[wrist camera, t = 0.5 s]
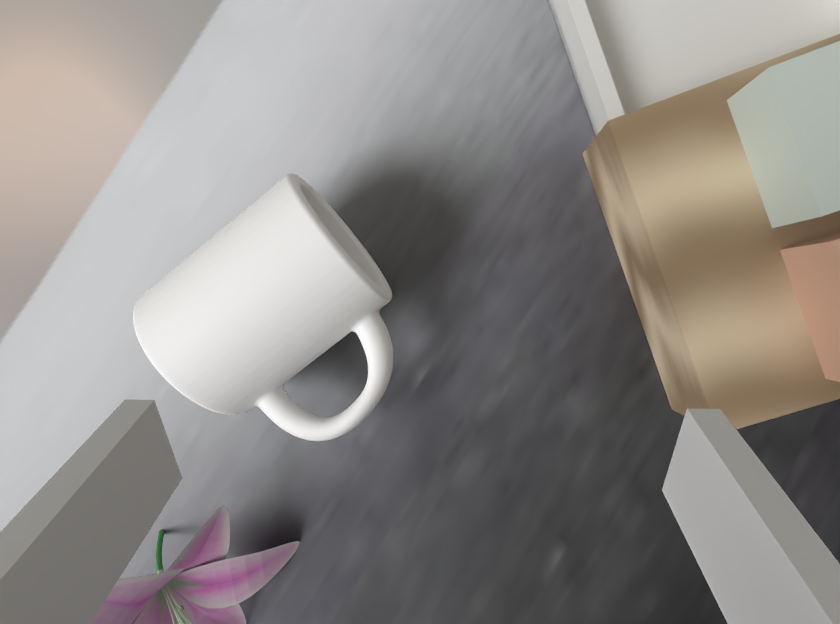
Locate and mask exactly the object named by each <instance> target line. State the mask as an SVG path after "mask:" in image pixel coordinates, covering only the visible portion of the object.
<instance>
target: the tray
mask: <svg viewBox="0 0 840 624" xmlns="http://www.w3.org/2000/svg"><path fill="white" fill-rule="evenodd" d="M548 1H549V4H550V7H551V9H552V12H553V15H554V18H555V21H556V24H557V26H558V29H559V32H560V35H561V38H562V41H563V44H564V46H565V49H566V52H567V55H568V58H569V61H570V64H571V66H572V69H573V72H574V75H575V78H576V81H577V83H578V86H579V89H580V92H581V95H582V98H583V101H584V103H585V106H586V109H587V112H588V115H589V118H590V121H591V123H592V126H593V129H594V132H595V135H596V136H597V135H598V133H599V132H600V131H601V129H602V128H603V127H604V125H605V124H606V123H607V121H609V120H611V119H614V118H617V117H619V116H622V115H625V114H627V113H630V112H633V111H635V110H638V109H641V108H643V107H646V106H649V105H651V104H654V103H657V102H659V101H662V100H665V99H667V98H670V97H673V96H675V95H678V94H681V93H683V92H686V91H689V90H691V89H694V88H697V87H699V86H702V85H705V84H707V83H710V82H713V81H715V80H718V79H720V78H723V77H726V76H728V75H731V74H734V73H736V72H739V71H742V70H744V69H747V68H750V67H752V66H755V65H758V64H760V63H763V62H766V61H768V60H771V59H774V58H776V57H779V56H782V55H784V54H787V53H790V52H792V51H795V50H798V49H800V48H803V47H806V46H808V45H811V44H814V43H816V42H819V41H822V40H824V39H827V38H830V37H832V36H835V35H838V34H840V0H548Z"/></svg>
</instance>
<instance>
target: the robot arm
mask: <svg viewBox="0 0 840 624" xmlns="http://www.w3.org/2000/svg"><path fill="white" fill-rule="evenodd" d="M181 479H182V476H181V474H180V471H179V468H178V465H177V462H176V460H175V457H174V454H173V451H172V448H171V446H170V443H169V440H168V437H167V434H166V432H165V429H164V426H163V423H162V420H161V418H160V415H159V412H158V409H157V406H156V404H155V401H154V400H124V401H123V402H122V403H121V405H120V406H119V407H118V408H117V409H116V410H115V411H114V412H113V413H112V414H111V415H110V416H109V417H108V418H107V419H106V420H105V422H104V423H103V424H102V425H101V426H100V427H99V428H98V429H97V430H96V431H95V432H94V433H93V434H92V435H91V436H90V437H89V439H88V440H87V441H86V442H85V443H84V444H83V445H82V446H81V447H80V448H79V449H78V450H77V451H76V452H75V453H74V454H73V456H72V457H71V458H70V459H69V460H68V461H67V462H66V463H65V464H64V465H63V466H62V467H61V468H60V469H59V470H58V471H57V472H56V474H55V475H54V476H53V477H52V478H51V479H50V480H49V481H48V482H47V483H46V484H45V485H44V486H43V487H42V488H41V489H40V491H39V492H38V493H37V494H36V495H35V496H34V497H33V498H32V499H31V500H30V501H29V502H28V503H27V504H26V505H25V506H24V508H23V509H22V510H21V511H20V512H19V513H18V514H17V515H16V516H15V517H14V518H13V519H12V520H11V521H10V522H9V523H8V525H7V526H6V527H5V528H4V529H3V530H2V531H1V532H0V624H90V623H91V622H92V620H93V619H94V617H95V615H96V614H97V612H98V611H99V609H100V607H101V606H102V604H103V603H104V601H105V599H106V598H107V596H108V595H109V593H110V592H111V590H112V588H113V587H114V585H115V584H116V582H117V580H118V579H119V577H120V576H121V574H122V573H123V571H124V569H125V568H126V566H127V565H128V563H129V561H130V560H131V558H132V557H133V555H134V554H135V552H136V550H137V549H138V547H139V546H140V544H141V542H142V541H143V539H144V538H145V536H146V535H147V533H148V531H149V530H150V528H151V527H152V525H153V523H154V522H155V520H156V519H157V517H158V516H159V514H160V512H161V511H162V509H163V508H164V506H165V504H166V503H167V501H168V500H169V498H170V497H171V495H172V493H173V492H174V490H175V489H176V487H177V485H178V484H179V482H180V481H181ZM662 491H663V493H664V495H665V497H666V499H667V501H668V503H669V505H670V508H671V510H672V512H673V514H674V516H675V518H676V520H677V522H678V524H679V526H680V528H681V530H682V532H683V534H684V536H685V538H686V540H687V542H688V544H689V546H690V548H691V550H692V552H693V554H694V556H695V558H696V560H697V562H698V564H699V566H700V568H701V570H702V573H703V575H704V577H705V579H706V581H707V583H708V585H709V587H710V589H711V591H712V593H713V595H714V597H715V599H716V601H717V603H718V605H719V607H720V609H721V611H722V613H723V615H724V617H725V619H726V621H727V623H728V624H840V563H839V562H838V561H837V560H836V559H835V557H834V556H833V555H832V553H831V552H830V551H829V549H828V548H827V547H826V546H825V544H824V543H823V542H822V540H821V539H820V538H819V536H818V535H817V534H816V533H815V531H814V530H813V529H812V527H811V526H810V525H809V523H808V522H807V521H806V520H805V518H804V517H803V516H802V514H801V513H800V512H799V511H798V509H797V508H796V507H795V505H794V504H793V503H792V501H791V500H790V499H789V498H788V496H787V495H786V494H785V492H784V491H783V490H782V488H781V487H780V486H779V485H778V483H777V482H776V481H775V479H774V478H773V477H772V475H771V474H770V473H769V472H768V470H767V469H766V468H765V466H764V465H763V464H762V463H761V461H760V460H759V459H758V457H757V456H756V455H755V453H754V452H753V451H752V450H751V448H750V447H749V446H748V444H747V443H746V442H745V440H744V439H743V438H742V437H741V435H740V434H739V433H738V431H737V430H736V429H735V427H734V426H733V425H732V424H731V422H730V421H729V420H728V418H727V417H726V416H725V415H724V413H723V412H722V411H721V409H689V408H687V410H686V413H685V417H684V420H683V423H682V426H681V430H680V433H679V436H678V440H677V443H676V446H675V449H674V453H673V456H672V459H671V462H670V466H669V469H668V472H667V475H666V479H665V482H664V485H663V489H662Z"/></svg>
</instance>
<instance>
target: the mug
mask: <svg viewBox="0 0 840 624" xmlns="http://www.w3.org/2000/svg"><path fill="white" fill-rule="evenodd" d="M391 299H392V291H391V289H390V286H389V284H388V282H387V280H386V279H385V277H384V275H383V274H382V272H381V271H380V269H379V267H378V266H377V264H376V263H375V262H374V260H373V259H372V257H371V256H370V255H369V253H368V252H367V250H366V249H365V248H364V246H363V245H362V244H361V242H360V241H359V240H358V239H357V237H356V236H355V235H354V233H353V232H352V231H351V230H350V228H349V227H348V226H347V225H346V224H345V222H344V221H343V220H342V219H341V218H340V217H339V215H338V214H337V213H336V212H335V211H334V210H333V208H332V207H331V206H330V205H329V204H328V203H327V202H326V201H325V200H324V199H323V198H322V197H321V196H320V194H319V193H318V192H317V191H316V190H314V189H313V188H312V187H311V186H310V185H309V184H308V183H307V182H306V181H305V180H303V179H302V178H301V177H299V176H297V175H295V174H287V175H286V176H285V177H284V178H282V179H281V180H280V181H279V182H278V183H276V184H275V185H274V186H273V187H272V188H270V189H269V190H268V191H267V192H266V193H264V194H263V195H262V196H261V197H260V198H258V199H257V200H256V201H255V202H254V203H252V204H251V205H250V206H249V207H248V208H246V209H245V210H244V211H243V212H242V213H240V214H239V215H238V216H237V217H236V218H234V219H233V220H232V221H231V222H230V223H228V224H227V225H226V226H225V227H224V228H222V229H221V230H220V231H219V232H218V233H216V234H215V235H214V236H213V237H212V238H210V239H209V240H208V241H207V242H206V243H204V244H203V245H202V246H201V247H200V248H198V249H197V250H196V251H195V252H193V253H192V254H191V255H190V256H189V257H187V258H186V259H185V260H184V261H183V262H181V263H180V264H179V265H178V266H177V267H175V268H174V269H173V270H172V271H171V272H169V273H168V274H167V275H166V276H165V277H163V278H162V279H161V280H160V281H159V282H157V283H156V284H155V285H154V286H153V287H151V288H150V289H149V290H148V291H147V292H145V293H144V294H143V295H142V296H141V297H140V298H139V299H138V300H137V302H136V304H135V307H134V312H133V322H134V328H135V332H136V335H137V338H138V340H139V342H140V344H141V346H142V348H143V350H144V352H145V354H146V355H147V357H148V358H149V360H150V361H151V363H152V364H153V365H154V367H155V368H156V369H157V370H158V372H159V373H160V374H161V375H162V376H163V377H164V378H165V379H166V380H167V381H168V382H169V383H170V384H171V385H172V386H173V387H174V388H175V389H177V390H178V391H179V392H180V393H182V394H183V395H184V396H186V397H187V398H189V399H190V400H192V401H193V402H195V403H197V404H198V405H200V406H202V407H204V408H207V409H209V410H211V411H214V412H218V413H222V414H228V415H237V414H242V413H245V412H247V411H249V410H251V409H252V408H253V407H254V406H259V407H260V408H261V410H262V411H263V412H264V413H265V414H266V415H267V416H268V417H269V418H270V419H271V420H272V421H273V422H274V423H276V424H277V425H278V426H279V427H281V428H282V429H284V430H285V431H287V432H288V433H290V434H292V435H294V436H296V437H299V438H302V439H306V440H311V441H324V440H330V439H334V438H337V437H339V436H342V435H344V434H345V433H347V432H349V431H350V430H352V429H353V428H355V427H356V426H357V425H359V424H360V423H361V422H362V421H363V420H364V419H365V418H366V417H367V416H368V415H369V414H370V413H371V412H372V411H373V409H374V408H375V407H376V405H377V404H378V403H379V401H380V400H381V398H382V396H383V394H384V393H385V391H386V388H387V386H388V384H389V381H390V378H391V374H392V369H393V347H392V342H391V338H390V335H389V332H388V330H387V327H386V325H385V323H384V321H383V319H382V317H381V316H380V313H379V312H380V309H381V308H382V307H383V306H385V305H386V304H387V303H389V302H390V301H391ZM352 331H353V332H355V333H357V335H358V337H359V339H360V341H361V343H362V345H363V348H364V351H365V354H366V357H367V363H368V378H367V383H366V386H365V388H364V390H363V392H362V393H361V395H360V396H359V397H358V398H357V400H356V401H355V402H354V403H353V404H352V405H351V406H349V407H348V408H347V409H346V410H345V411H343V412H342V413H340V414H338V415H336V416H333V417H329V418H321V417H317V416H315V415H312V414H310V413H309V412H307V411H306V410H304V409H303V408H302V407H301V406H299V405H298V404H297V403H296V402H295V401H294V400H293V399H292V398H291V397H290V396H289V394H288V393H287V392H286V391H285V390H284V384H285V383H286V382H287V381H288V380H289V379H291V378H292V377H293V376H294V375H296V374H297V373H298V372H300V371H301V370H302V369H303V368H305V367H306V366H307V365H309V364H310V363H311V362H313V361H314V360H315V359H316V358H318V357H319V356H320V355H322V354H323V353H324V352H325V351H327V350H328V349H329V348H331V347H332V346H333V345H334V344H336V343H337V342H338V341H340V340H341V339H342V338H344V337H345V336H346V335H347V334H349V333H350V332H352Z"/></svg>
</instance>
